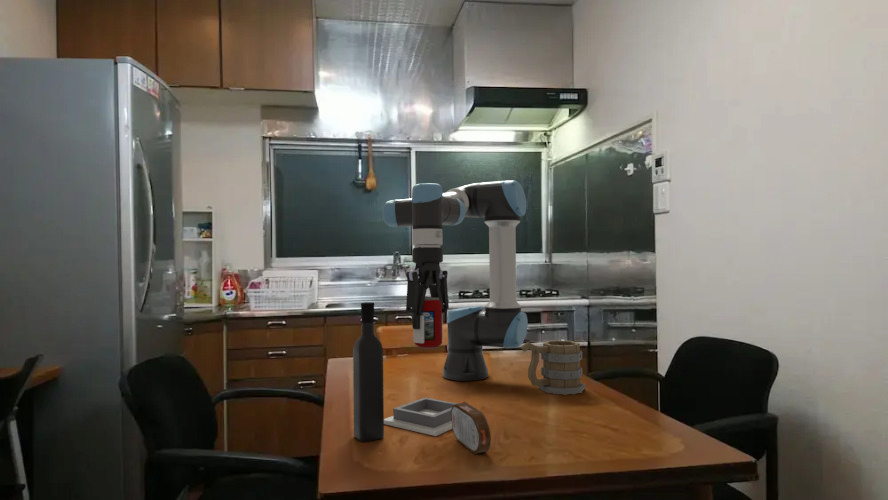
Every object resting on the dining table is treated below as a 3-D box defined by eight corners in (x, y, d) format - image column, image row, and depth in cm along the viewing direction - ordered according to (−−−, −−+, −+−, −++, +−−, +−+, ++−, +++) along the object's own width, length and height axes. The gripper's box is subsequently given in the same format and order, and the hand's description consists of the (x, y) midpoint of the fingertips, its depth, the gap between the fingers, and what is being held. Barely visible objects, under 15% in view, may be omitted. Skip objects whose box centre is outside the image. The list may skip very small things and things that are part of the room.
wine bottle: (352, 435, 120) (351, 302, 121) (375, 431, 123) (374, 301, 124) (361, 443, 116) (359, 304, 116) (385, 438, 118) (384, 303, 119)
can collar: (423, 408, 142) (423, 394, 142) (474, 418, 133) (474, 404, 133) (382, 423, 129) (382, 409, 129) (435, 436, 120) (435, 420, 120)
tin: (492, 457, 107) (492, 415, 107) (478, 460, 105) (477, 417, 106) (461, 435, 121) (461, 397, 121) (448, 436, 119) (448, 399, 119)
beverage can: (408, 347, 131) (408, 297, 131) (428, 343, 136) (427, 296, 136) (428, 350, 126) (428, 299, 126) (447, 346, 131) (447, 297, 131)
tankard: (569, 383, 169) (568, 335, 169) (592, 392, 157) (591, 341, 157) (511, 388, 162) (510, 339, 162) (531, 399, 150) (530, 345, 150)
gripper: (414, 245, 121) (414, 347, 121) (462, 247, 137) (463, 336, 137) (389, 246, 126) (390, 344, 125) (439, 247, 142) (439, 334, 141)
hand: (428, 340), depth 131 cm, fingers closed on beverage can, 7 cm apart
